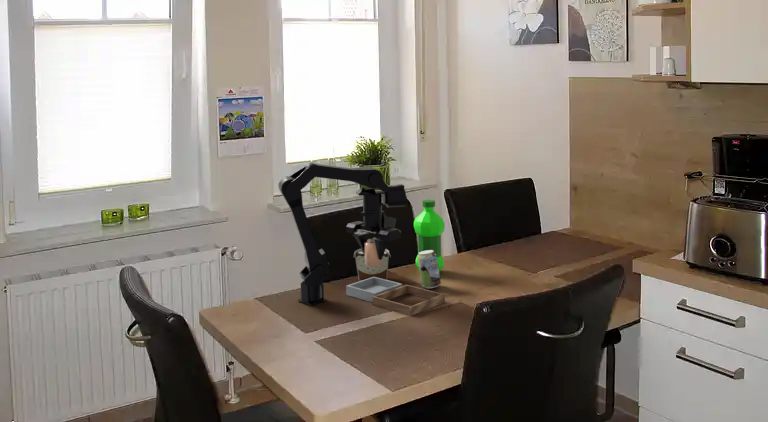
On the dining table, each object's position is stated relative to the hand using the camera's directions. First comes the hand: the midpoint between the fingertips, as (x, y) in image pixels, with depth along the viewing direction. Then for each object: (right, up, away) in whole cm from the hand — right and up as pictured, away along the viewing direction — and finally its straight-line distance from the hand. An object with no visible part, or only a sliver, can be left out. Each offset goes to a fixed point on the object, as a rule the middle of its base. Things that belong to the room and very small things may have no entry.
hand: (373, 257), depth 248 cm
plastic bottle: (+19, -7, +23) cm, 31 cm away
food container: (0, -8, +19) cm, 21 cm away
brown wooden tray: (+11, -13, -7) cm, 18 cm away
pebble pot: (0, -2, 0) cm, 2 cm away
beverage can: (+18, -10, +8) cm, 22 cm away
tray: (0, -12, +3) cm, 12 cm away
